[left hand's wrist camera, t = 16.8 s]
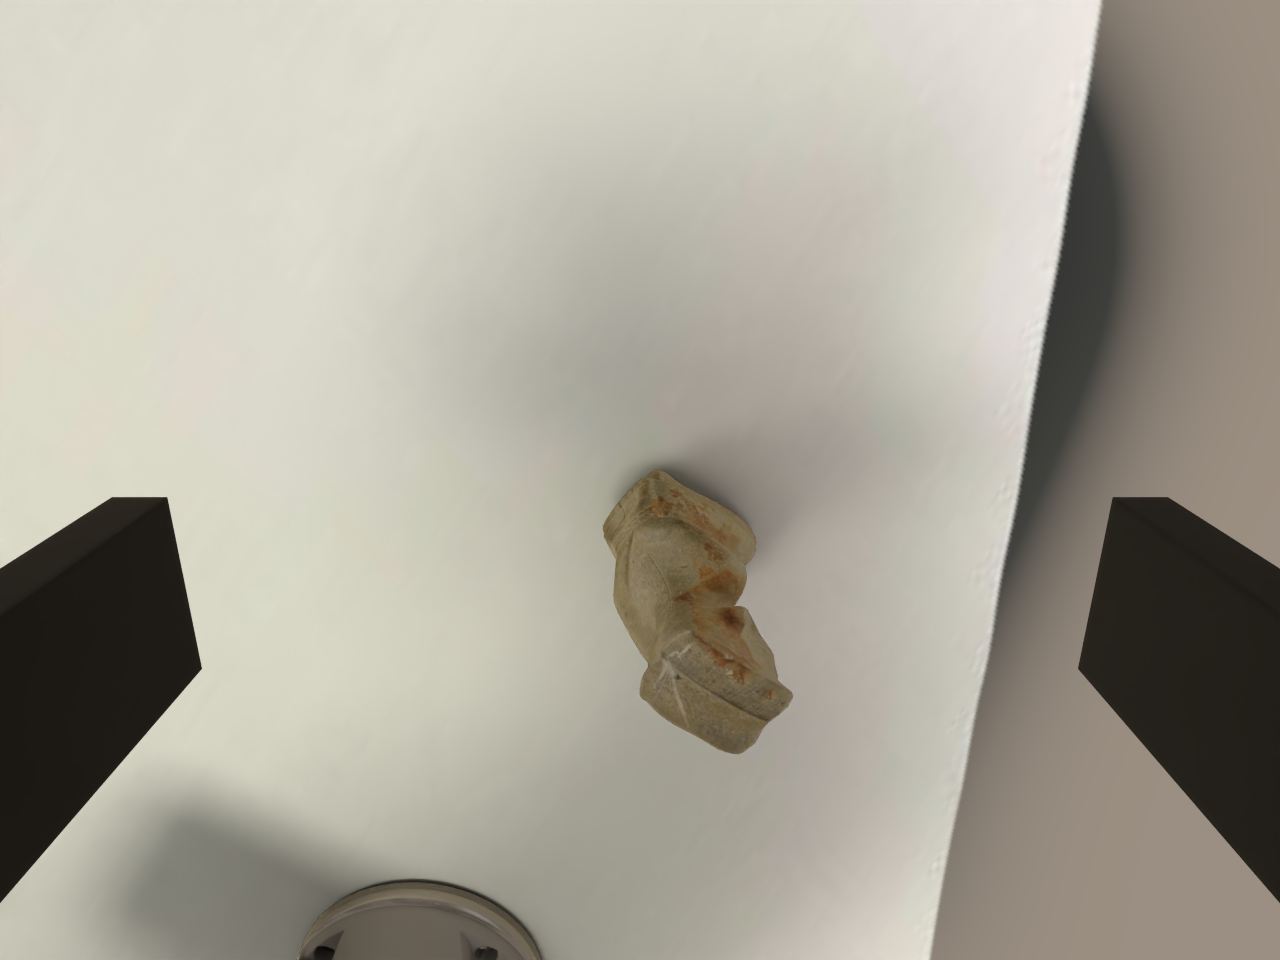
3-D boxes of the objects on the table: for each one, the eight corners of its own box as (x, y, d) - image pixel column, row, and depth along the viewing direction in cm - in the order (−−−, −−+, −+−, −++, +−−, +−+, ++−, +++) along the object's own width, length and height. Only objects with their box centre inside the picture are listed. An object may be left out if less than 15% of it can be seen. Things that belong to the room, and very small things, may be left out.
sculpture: (693, 601, 45) (718, 800, 31) (586, 518, 44) (561, 689, 30) (770, 522, 44) (832, 694, 30) (662, 433, 42) (673, 571, 28)
